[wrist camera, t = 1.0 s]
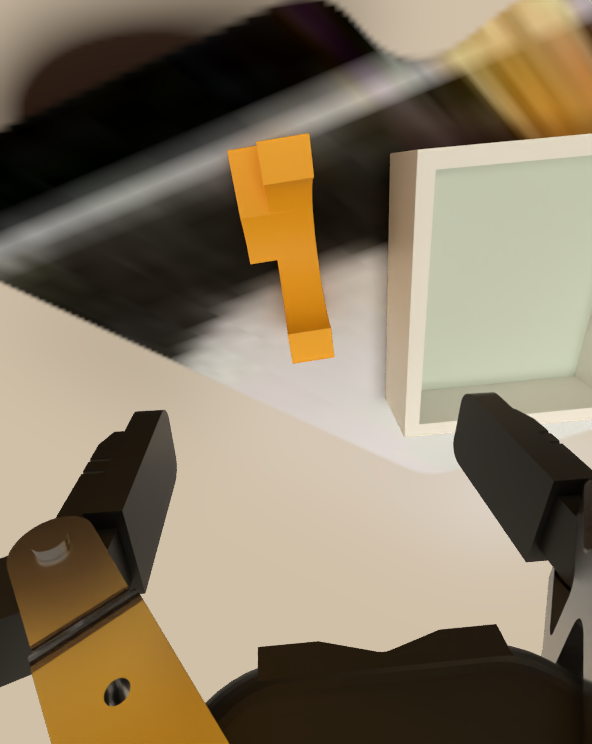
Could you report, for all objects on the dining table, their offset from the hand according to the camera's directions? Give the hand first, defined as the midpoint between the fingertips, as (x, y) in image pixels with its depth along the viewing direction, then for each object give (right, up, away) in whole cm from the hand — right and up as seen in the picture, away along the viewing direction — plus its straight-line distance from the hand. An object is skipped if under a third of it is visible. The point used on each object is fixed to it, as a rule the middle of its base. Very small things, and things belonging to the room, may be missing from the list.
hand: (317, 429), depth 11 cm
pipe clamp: (-2, +10, +17) cm, 20 cm away
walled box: (+14, +8, +19) cm, 25 cm away
